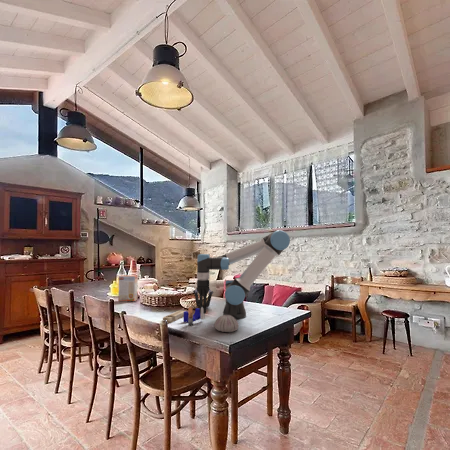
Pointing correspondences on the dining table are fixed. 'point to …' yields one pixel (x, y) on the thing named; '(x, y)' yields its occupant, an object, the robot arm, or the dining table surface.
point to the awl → (190, 316)
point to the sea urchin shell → (226, 323)
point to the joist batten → (174, 316)
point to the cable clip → (196, 315)
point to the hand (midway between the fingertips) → (202, 318)
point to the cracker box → (127, 288)
